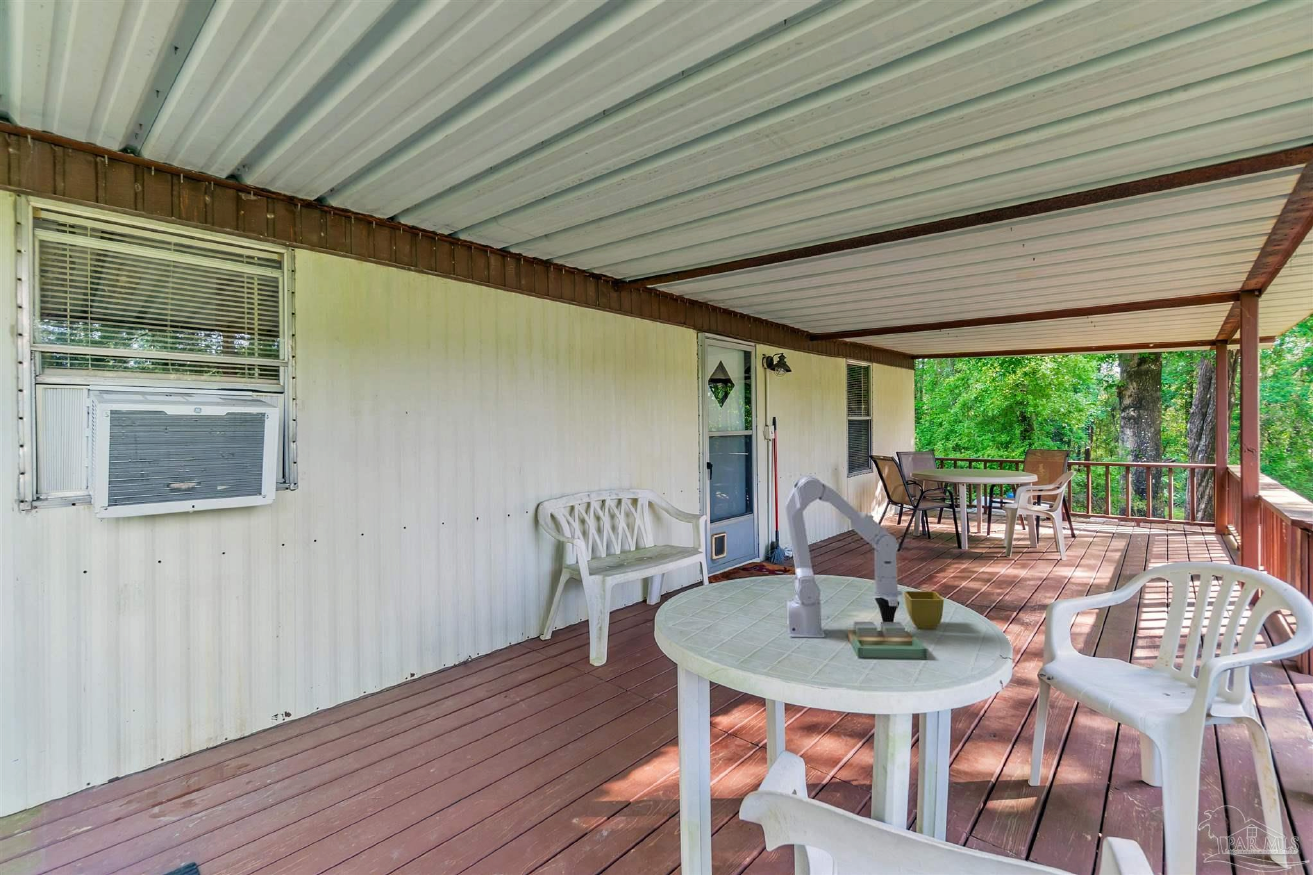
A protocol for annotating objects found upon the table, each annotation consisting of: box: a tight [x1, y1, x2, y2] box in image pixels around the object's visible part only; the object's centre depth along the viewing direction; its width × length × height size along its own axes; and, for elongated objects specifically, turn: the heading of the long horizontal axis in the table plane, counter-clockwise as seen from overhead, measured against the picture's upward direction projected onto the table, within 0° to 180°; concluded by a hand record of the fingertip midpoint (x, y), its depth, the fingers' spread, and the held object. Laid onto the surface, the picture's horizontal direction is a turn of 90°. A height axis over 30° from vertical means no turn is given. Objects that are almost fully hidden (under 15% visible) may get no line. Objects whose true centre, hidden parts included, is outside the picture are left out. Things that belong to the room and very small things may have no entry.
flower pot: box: [903, 590, 945, 630], centre depth 164 cm, size 9×9×9 cm
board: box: [846, 629, 913, 646], centre depth 153 cm, size 16×8×2 cm, turn 81°
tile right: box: [880, 621, 906, 638], centre depth 154 cm, size 5×5×2 cm
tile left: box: [853, 621, 878, 637], centre depth 155 cm, size 5×5×2 cm
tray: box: [851, 636, 928, 660], centre depth 145 cm, size 16×8×2 cm, turn 81°
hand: (888, 625), depth 159 cm, fingers closed
